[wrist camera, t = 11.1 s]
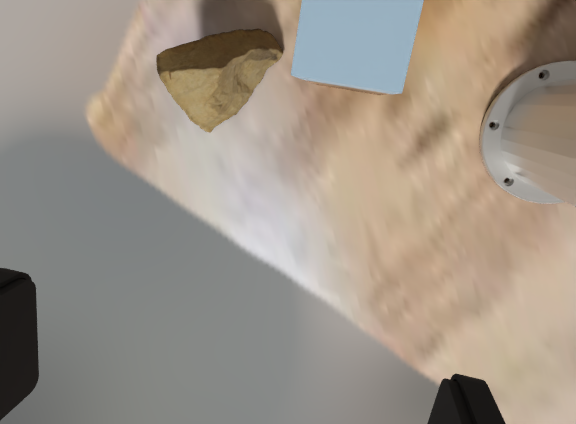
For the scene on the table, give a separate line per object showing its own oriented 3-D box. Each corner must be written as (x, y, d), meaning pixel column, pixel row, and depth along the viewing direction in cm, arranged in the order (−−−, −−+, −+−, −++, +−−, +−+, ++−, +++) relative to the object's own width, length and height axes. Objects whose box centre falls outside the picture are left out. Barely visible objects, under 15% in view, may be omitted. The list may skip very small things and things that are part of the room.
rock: (273, -8, 35) (163, 13, 36) (279, 42, 30) (150, 66, 30) (290, 95, 43) (201, 111, 44) (298, 148, 38) (197, 165, 39)
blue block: (414, -5, 25) (431, -35, 19) (391, 94, 27) (401, 93, 21) (319, -18, 26) (309, -51, 20) (303, 79, 27) (290, 75, 22)
